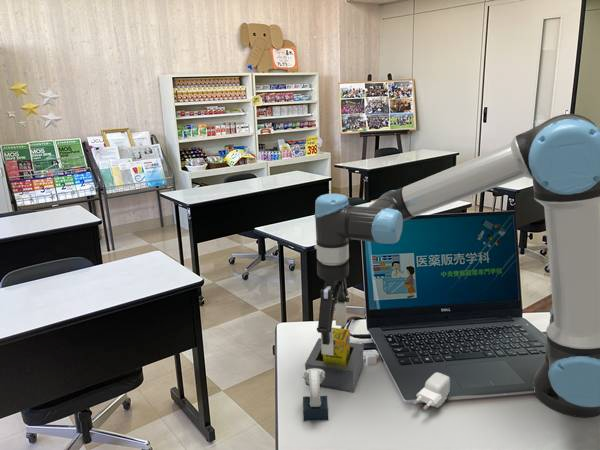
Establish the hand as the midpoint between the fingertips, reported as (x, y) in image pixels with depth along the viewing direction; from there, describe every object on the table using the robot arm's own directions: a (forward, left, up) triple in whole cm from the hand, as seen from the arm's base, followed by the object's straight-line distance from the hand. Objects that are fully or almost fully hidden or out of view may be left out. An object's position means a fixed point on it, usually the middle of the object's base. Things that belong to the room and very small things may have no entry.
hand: (334, 339), depth 118 cm
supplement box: (0, 0, -10) cm, 10 cm away
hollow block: (0, 0, -10) cm, 10 cm away
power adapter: (-24, +6, -10) cm, 27 cm away
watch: (+1, +15, -10) cm, 19 cm away
